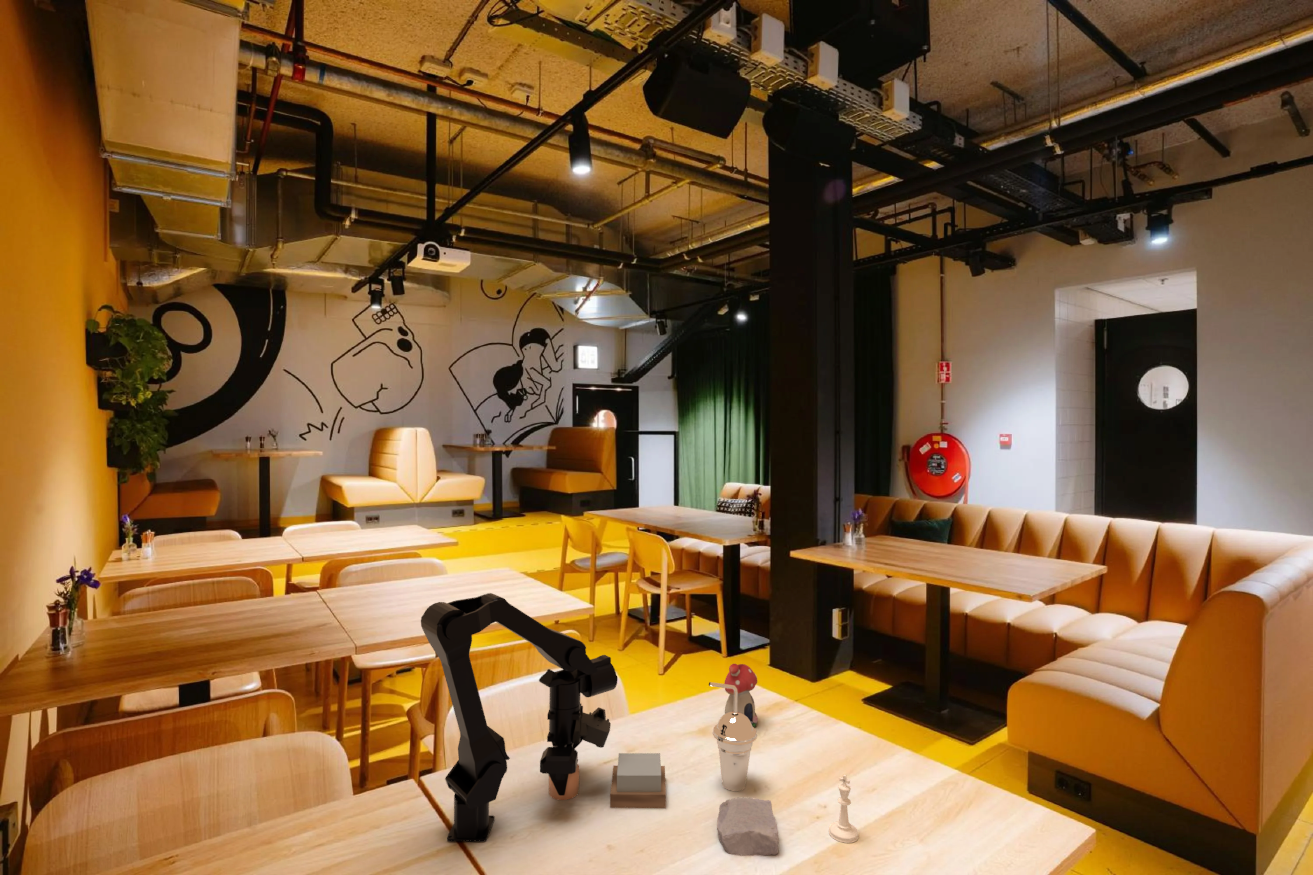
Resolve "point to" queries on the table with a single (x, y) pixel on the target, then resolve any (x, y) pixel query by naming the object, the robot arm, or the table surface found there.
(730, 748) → the cup with straw
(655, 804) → the base slab
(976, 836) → the table surface
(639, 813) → the table surface
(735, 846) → the stone block
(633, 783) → the top slab
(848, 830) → the chess piece
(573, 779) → the cylinder
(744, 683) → the decorative ornament
